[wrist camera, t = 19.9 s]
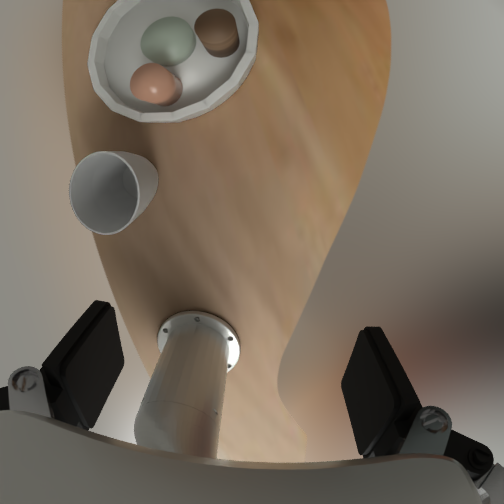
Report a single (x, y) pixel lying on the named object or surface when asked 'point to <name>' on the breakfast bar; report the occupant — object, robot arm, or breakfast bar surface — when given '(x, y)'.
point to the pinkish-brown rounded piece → (156, 85)
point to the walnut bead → (217, 32)
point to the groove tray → (192, 73)
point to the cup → (111, 190)
